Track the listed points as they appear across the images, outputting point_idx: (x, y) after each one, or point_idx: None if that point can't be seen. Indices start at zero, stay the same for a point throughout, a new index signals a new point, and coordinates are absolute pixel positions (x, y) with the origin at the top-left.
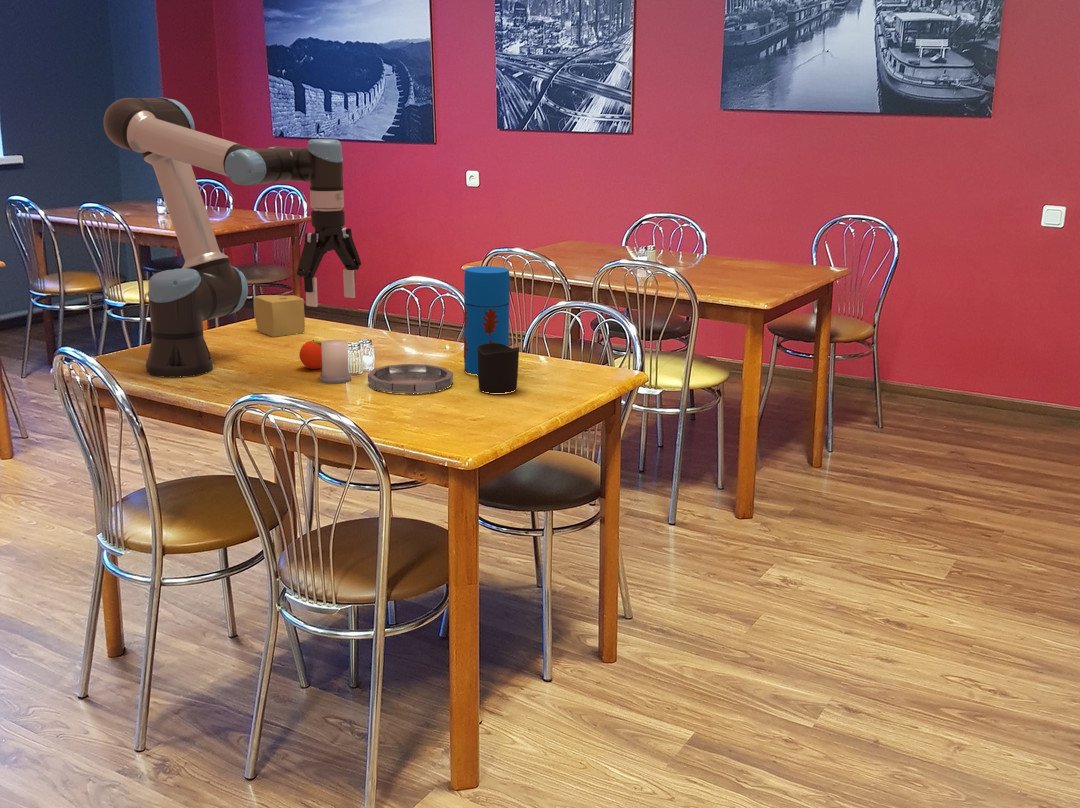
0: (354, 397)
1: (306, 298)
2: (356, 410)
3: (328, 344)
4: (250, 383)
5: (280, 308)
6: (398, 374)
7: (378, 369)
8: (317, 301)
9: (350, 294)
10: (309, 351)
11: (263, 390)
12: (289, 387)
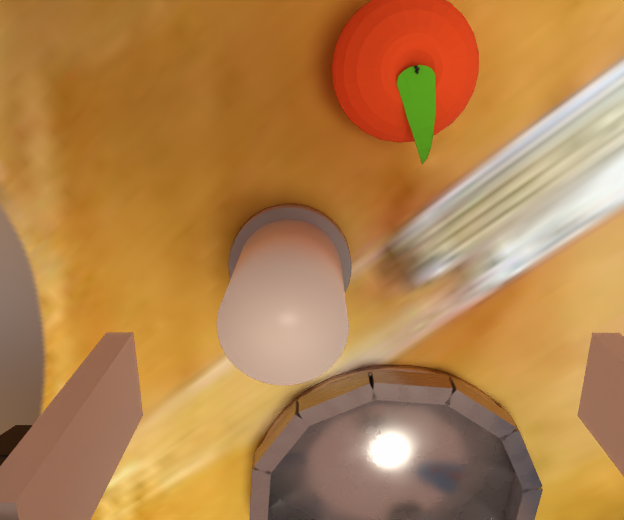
0: (153, 439)
1: (84, 366)
2: None
3: (227, 333)
4: (37, 8)
5: None
6: (440, 422)
7: (387, 397)
8: (127, 439)
9: (593, 409)
10: (344, 95)
11: (3, 136)
12: (101, 190)
